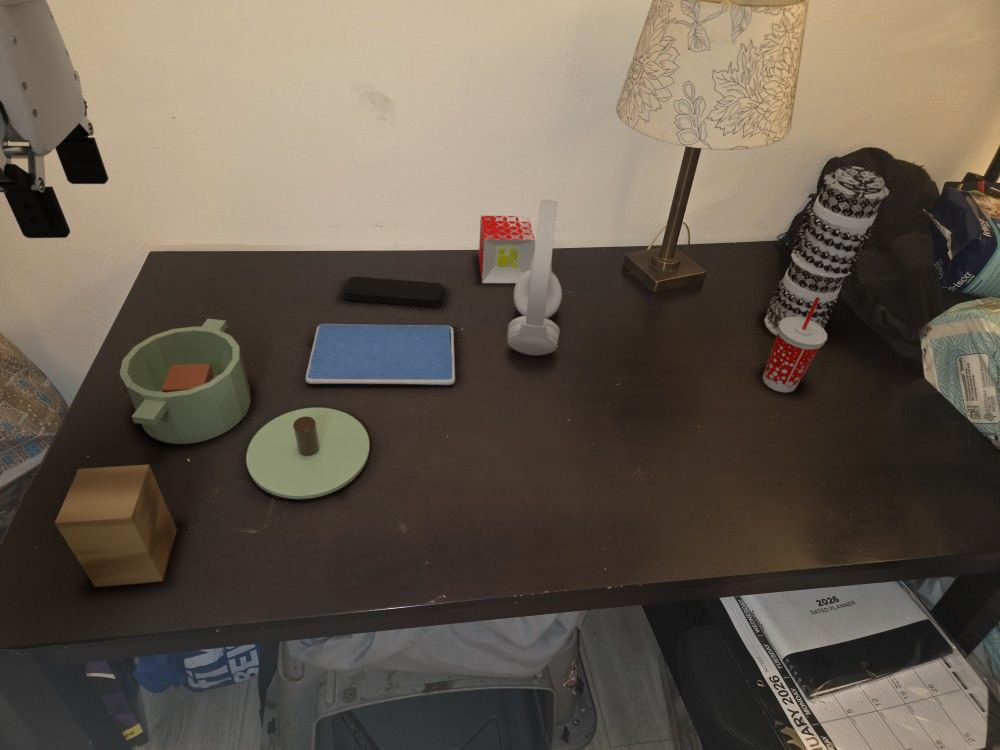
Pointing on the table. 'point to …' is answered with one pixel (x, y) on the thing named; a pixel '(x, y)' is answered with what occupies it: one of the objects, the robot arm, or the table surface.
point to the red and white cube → (505, 248)
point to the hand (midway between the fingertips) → (70, 207)
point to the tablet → (382, 354)
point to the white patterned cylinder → (828, 245)
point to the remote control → (394, 291)
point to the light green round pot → (192, 409)
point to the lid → (308, 453)
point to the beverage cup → (793, 351)
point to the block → (187, 377)
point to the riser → (118, 525)
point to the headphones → (538, 293)
